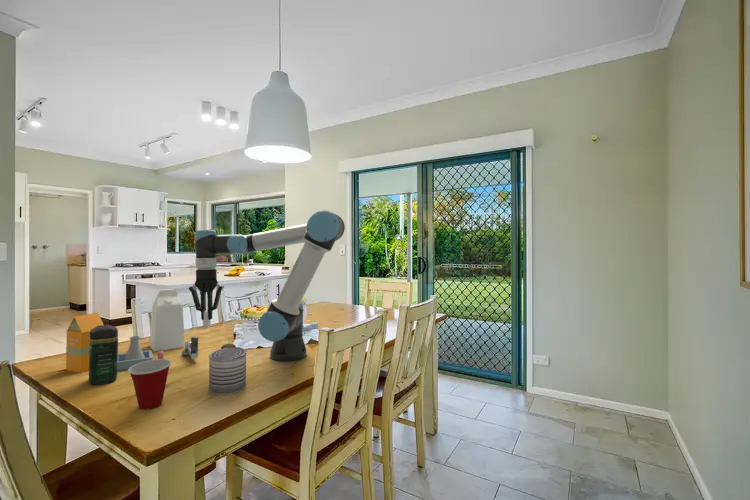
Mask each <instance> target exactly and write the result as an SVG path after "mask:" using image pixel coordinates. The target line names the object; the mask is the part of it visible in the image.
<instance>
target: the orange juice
mask: <svg viewBox="0 0 750 500" xmlns="http://www.w3.org/2000/svg"><path fill="white" fill-rule="evenodd" d="M101 325H105V324H104V322H103V320H102V318H101V316H100V313H99V312H93V313H87V314H81V315H75V316H74V317H73V319H72V321H71V323H70V324H69V326H68V329H67V330H66V347H65V348H66V349H65V350H66V351H65V354H66V357H65V359H66V360H65V361H66V363H65V366H66V367H65V370H66V371H70V372H76V373H83V372H89V348H90V331H91V330H92V329H93V328H95V327H97V326H101Z"/></svg>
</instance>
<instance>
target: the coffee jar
mask: <svg viewBox="0 0 750 500" xmlns="http://www.w3.org/2000/svg"><path fill="white" fill-rule="evenodd" d="M118 331H119V330H118V328H117V327H116V326H114V325H111V324H104V325H101V326H97V327H95V328H93V329H92V330H91V331H90V348H89V370H88V382H89V384H90V385H104V384H108V383H110V382H114V381H116V380H117V378H118V371H117V362H118V354H119V332H118Z"/></svg>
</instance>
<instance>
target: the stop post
mask: <svg viewBox="0 0 750 500" xmlns="http://www.w3.org/2000/svg"><path fill="white" fill-rule="evenodd" d="M164 353H165V351H164V350H160V351H157V359H165V357H164Z"/></svg>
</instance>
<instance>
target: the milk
mask: <svg viewBox="0 0 750 500" xmlns="http://www.w3.org/2000/svg"><path fill="white" fill-rule="evenodd" d="M183 307H184V306H183V303H182V301H181V299H180V296H179V294H178V293H177V291H176V289H175V288H172V289H171V288H170V289H160V290H159V291H158V294H157V295H156V298H155V299H154V301H153V303H152V309H151V322H150V323H151V324H150V336H149V347H150V349H152V350H151V351H152V352H160V351H166V350H174V349H179V348H185V334H184V333H185V330H184V329H185V328H184V308H183Z"/></svg>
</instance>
